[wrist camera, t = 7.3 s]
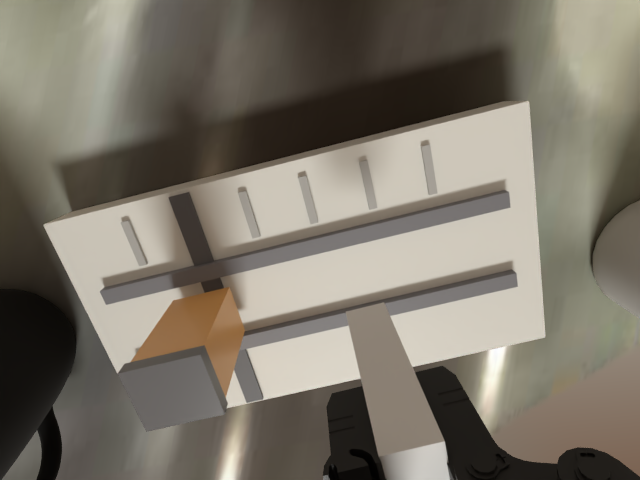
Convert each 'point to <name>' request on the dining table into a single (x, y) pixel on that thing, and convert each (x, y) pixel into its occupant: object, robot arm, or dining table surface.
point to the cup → (620, 259)
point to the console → (330, 250)
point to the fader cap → (186, 361)
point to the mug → (32, 376)
